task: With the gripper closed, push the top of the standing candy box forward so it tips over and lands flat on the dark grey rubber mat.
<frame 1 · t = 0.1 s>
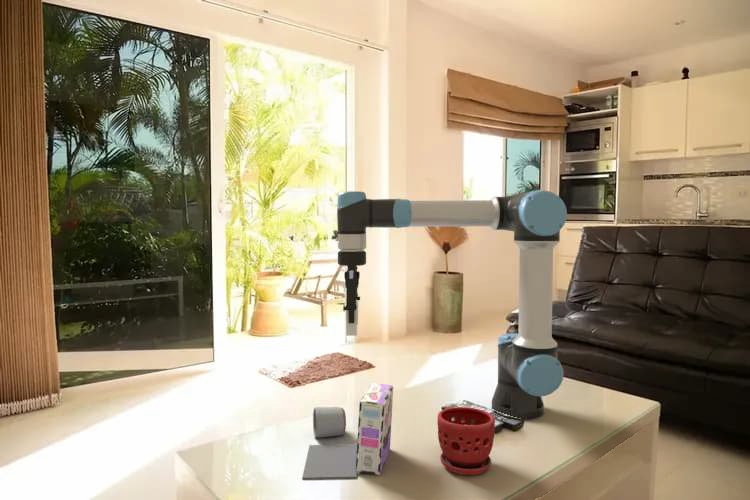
hand: (352, 329, 134), 28 cm above the table, tool pointing down, fingers open, 13 cm apart
mat: (331, 461, 119), on the table
plant pot: (465, 466, 117), on the table
candy box: (373, 460, 119), on the table, touching mat
ceramic mug: (327, 433, 135), on the table
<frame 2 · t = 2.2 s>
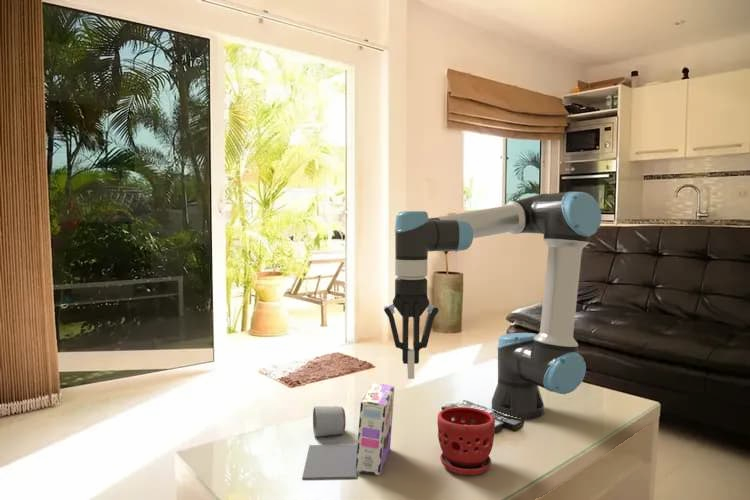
hand: (410, 376, 118), 20 cm above the table, tool pointing down, fingers closed
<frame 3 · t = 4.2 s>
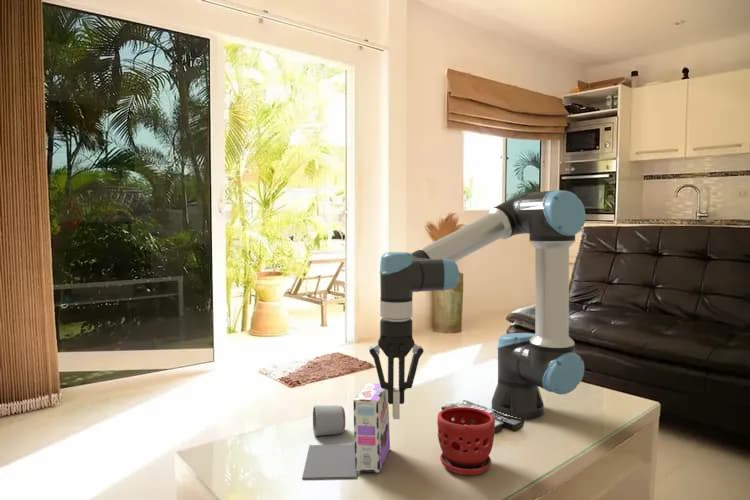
hand: (396, 416, 119), 11 cm above the table, tool pointing down, fingers closed
candy box: (373, 460, 119), on the table, touching gripper, mat
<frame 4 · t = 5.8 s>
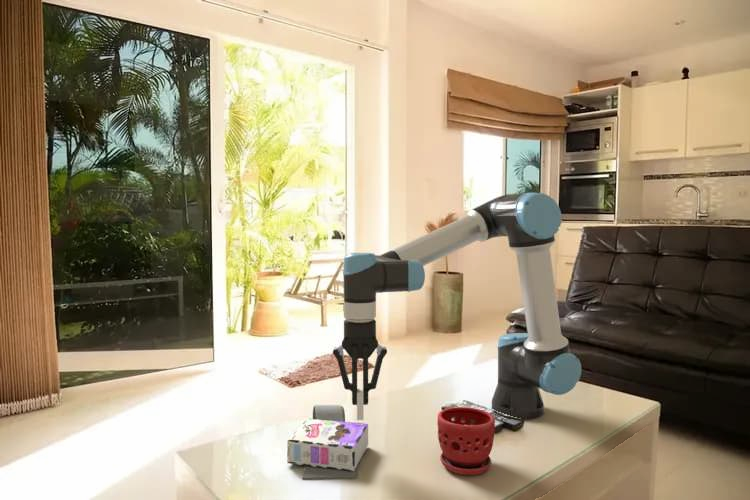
hand: (360, 417, 119), 11 cm above the table, tool pointing down, fingers closed
candy box: (363, 446, 120), point 3 cm above the table, touching mat
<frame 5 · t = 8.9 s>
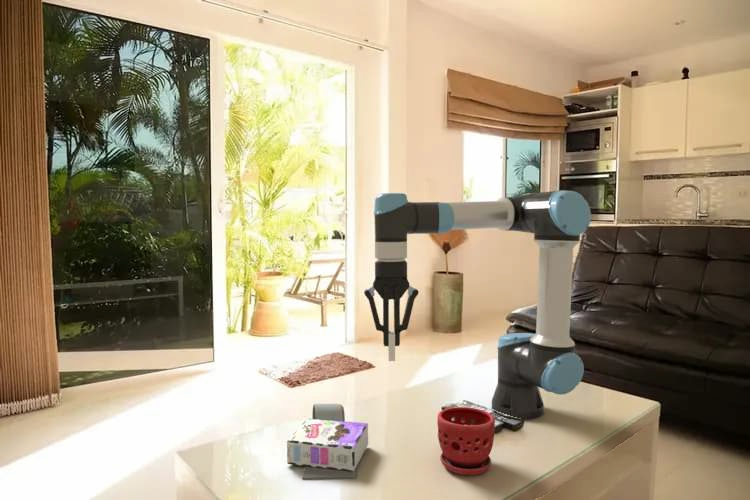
hand: (391, 359, 118), 24 cm above the table, tool pointing down, fingers closed
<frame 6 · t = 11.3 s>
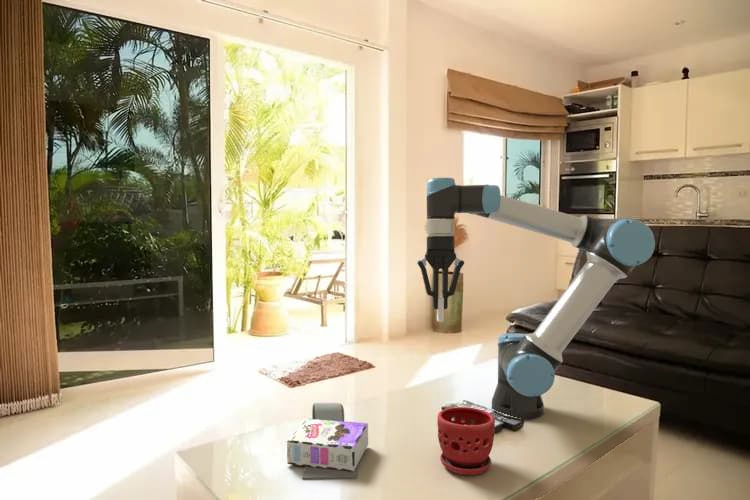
hand: (440, 320, 138), 29 cm above the table, tool pointing down, fingers closed
at the end: candy box tilted 90°; candy box inside the target area (11.0 cm from its centre), point 3.3 cm above the table; the gripper is holding nothing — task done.
